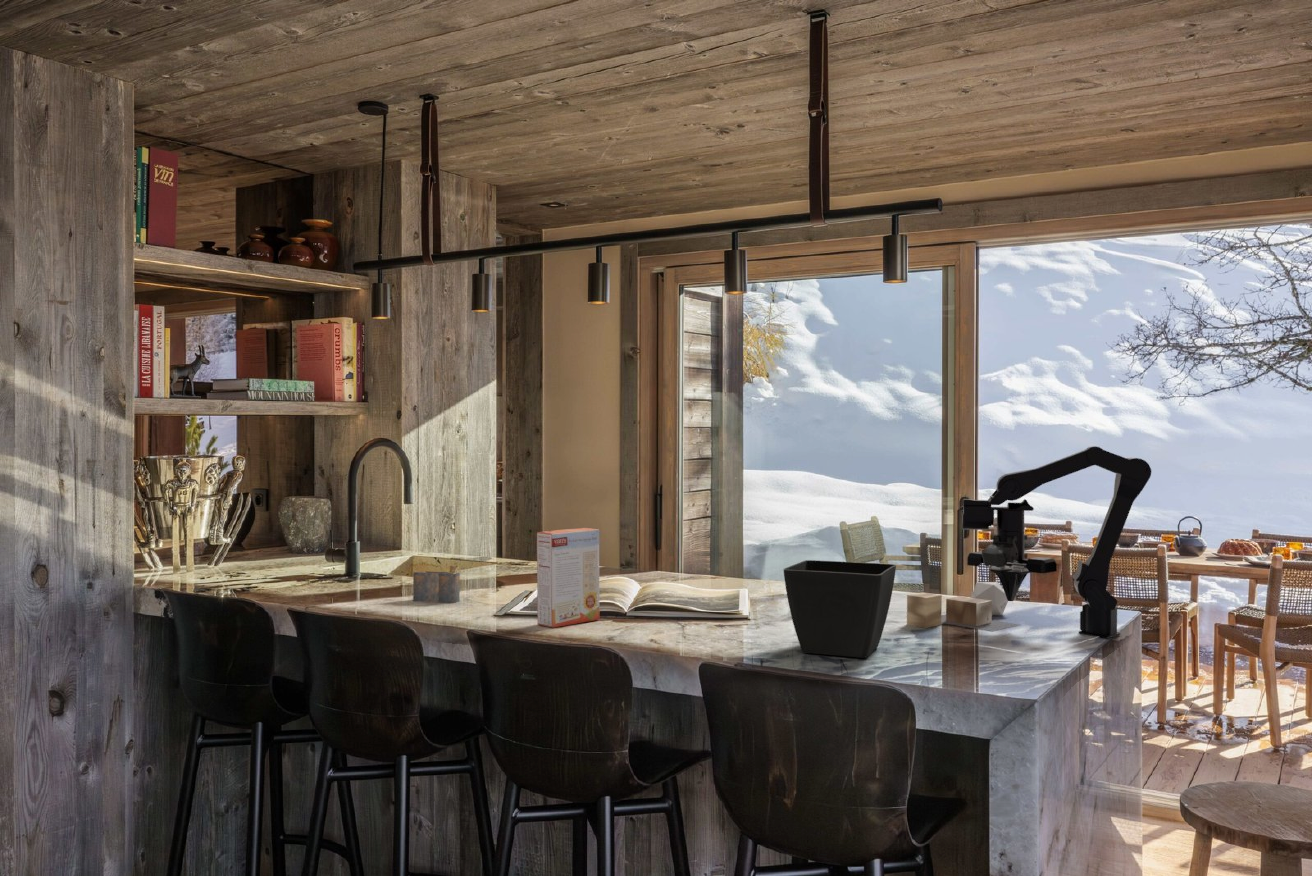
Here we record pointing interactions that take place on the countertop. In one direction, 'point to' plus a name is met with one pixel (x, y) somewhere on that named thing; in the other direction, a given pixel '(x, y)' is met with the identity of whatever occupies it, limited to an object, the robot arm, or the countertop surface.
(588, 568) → the cracker box
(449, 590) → the grooved slate block
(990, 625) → the rubber mat
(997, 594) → the die
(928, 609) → the oak block
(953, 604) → the walnut block
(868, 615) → the flower pot
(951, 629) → the countertop surface
